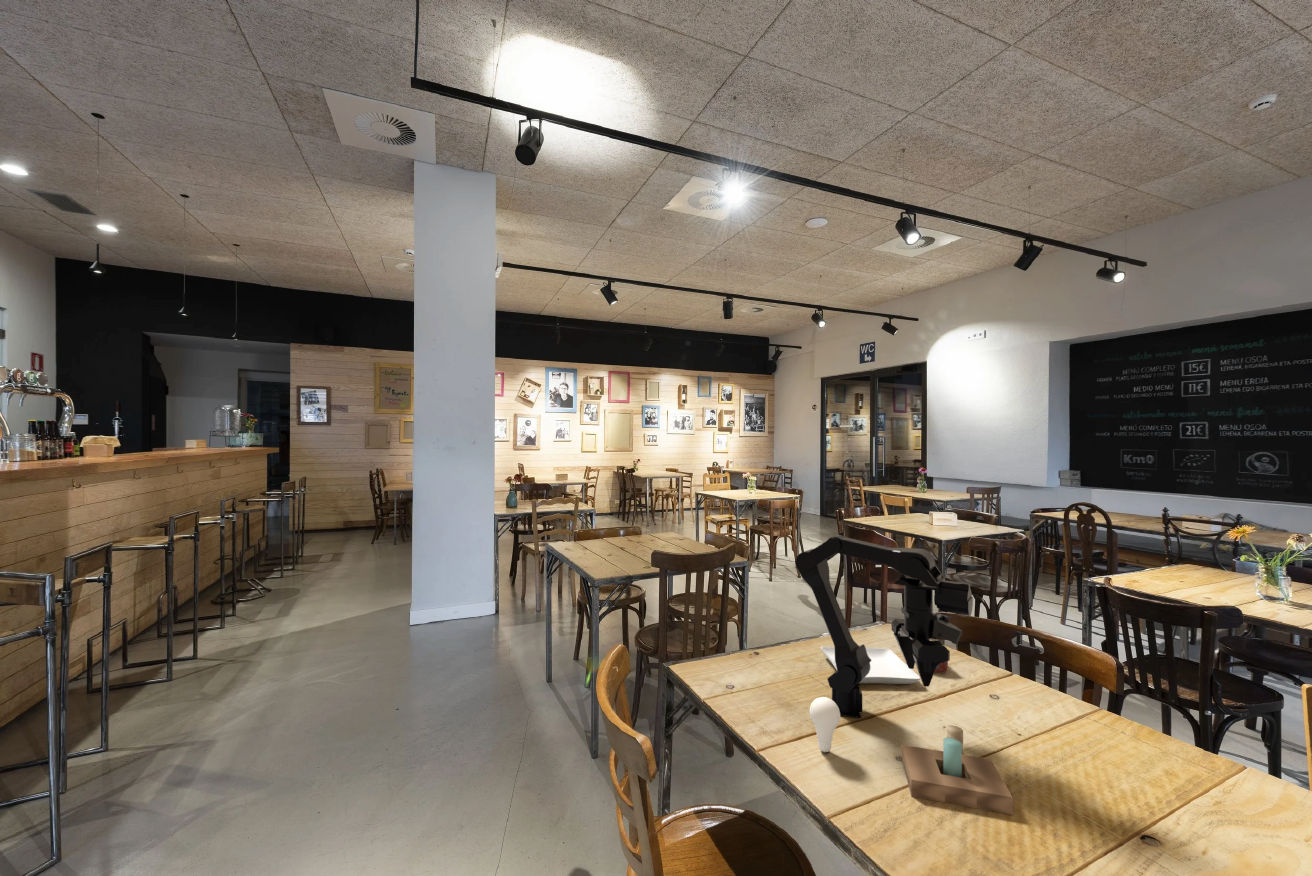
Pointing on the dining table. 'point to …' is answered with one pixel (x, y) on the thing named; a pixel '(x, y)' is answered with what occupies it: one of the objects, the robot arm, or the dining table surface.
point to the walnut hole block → (956, 780)
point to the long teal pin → (952, 757)
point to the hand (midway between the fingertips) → (918, 676)
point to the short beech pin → (955, 733)
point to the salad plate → (881, 667)
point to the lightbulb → (824, 720)
